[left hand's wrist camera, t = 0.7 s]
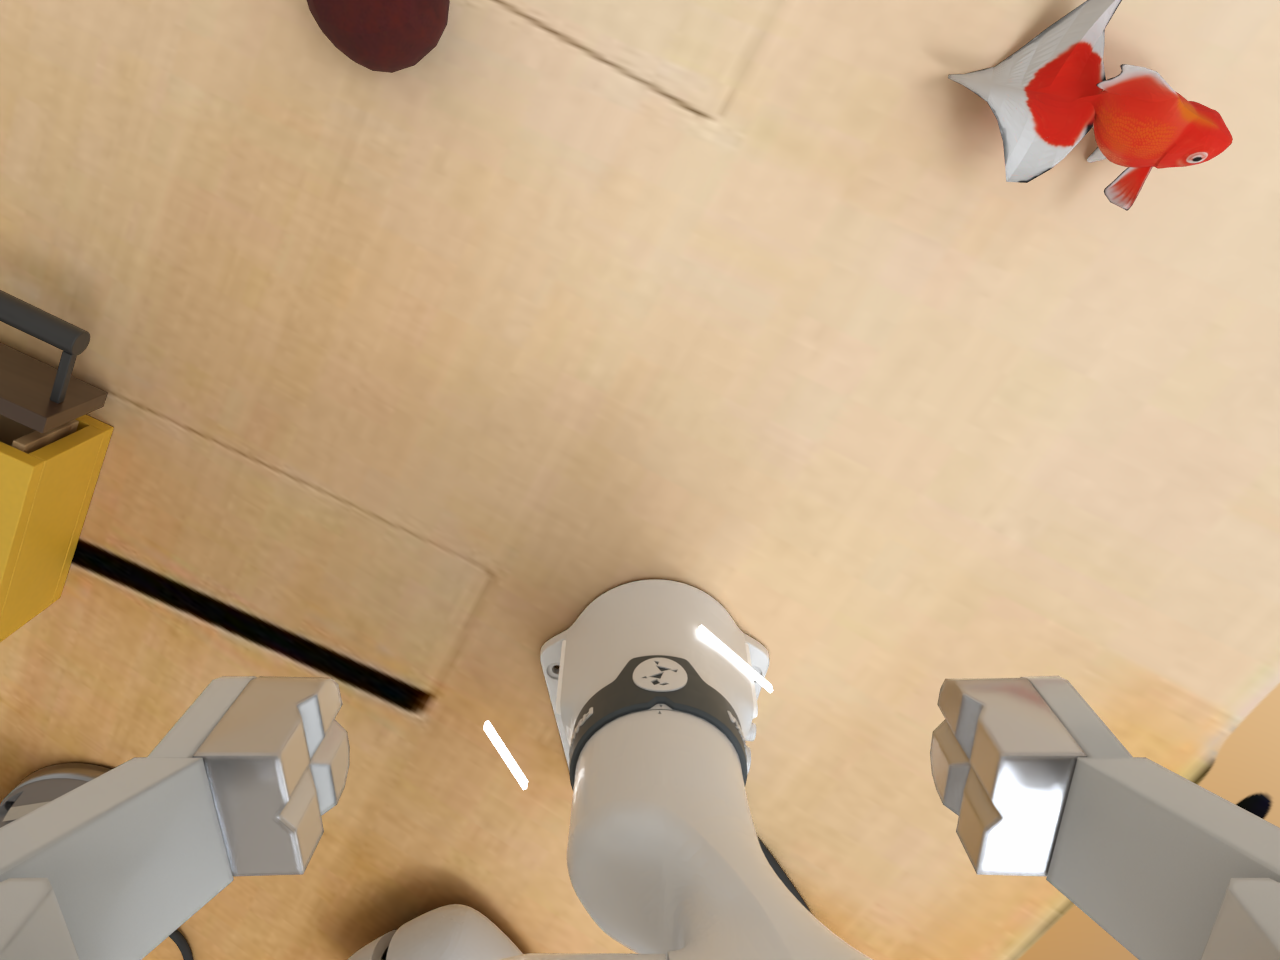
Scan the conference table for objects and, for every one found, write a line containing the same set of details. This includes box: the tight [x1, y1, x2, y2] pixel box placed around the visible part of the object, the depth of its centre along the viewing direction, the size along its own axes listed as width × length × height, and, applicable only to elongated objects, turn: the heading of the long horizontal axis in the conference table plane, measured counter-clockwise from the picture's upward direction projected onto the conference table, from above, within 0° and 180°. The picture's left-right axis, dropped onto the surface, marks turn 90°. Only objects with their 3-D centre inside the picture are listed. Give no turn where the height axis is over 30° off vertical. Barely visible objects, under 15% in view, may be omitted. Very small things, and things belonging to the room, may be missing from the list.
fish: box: [948, 0, 1233, 210], centre depth 46 cm, size 11×16×10 cm
